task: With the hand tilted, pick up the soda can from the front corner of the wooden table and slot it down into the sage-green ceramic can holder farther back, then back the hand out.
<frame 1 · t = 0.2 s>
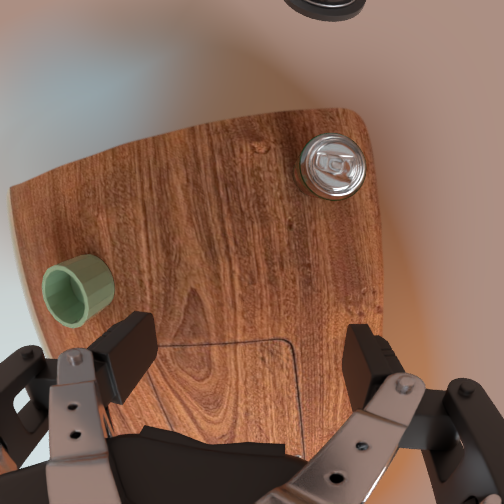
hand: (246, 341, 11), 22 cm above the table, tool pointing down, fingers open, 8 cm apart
can holder: (91, 282, 36), on the table
soda can: (315, 174, 31), on the table
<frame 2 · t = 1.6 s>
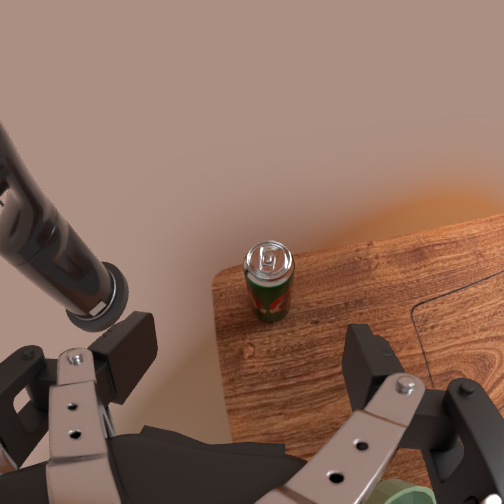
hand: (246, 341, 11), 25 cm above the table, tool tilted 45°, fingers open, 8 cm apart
soda can: (270, 306, 38), on the table
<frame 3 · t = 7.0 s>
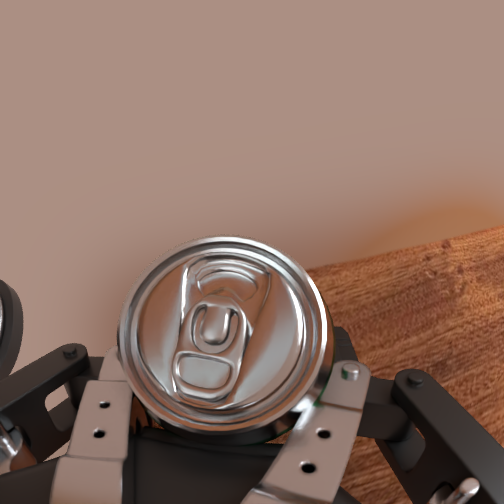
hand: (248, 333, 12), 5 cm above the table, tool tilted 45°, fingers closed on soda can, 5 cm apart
soda can: (253, 388, 16), on the table, touching gripper
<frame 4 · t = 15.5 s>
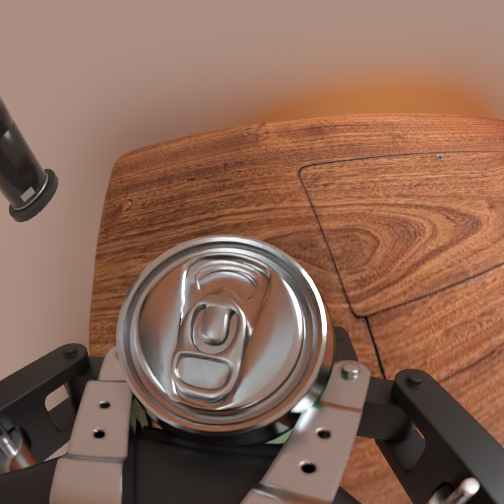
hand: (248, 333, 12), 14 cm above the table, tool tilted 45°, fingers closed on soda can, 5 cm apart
soda can: (253, 389, 16), point 8 cm above the table, touching gripper
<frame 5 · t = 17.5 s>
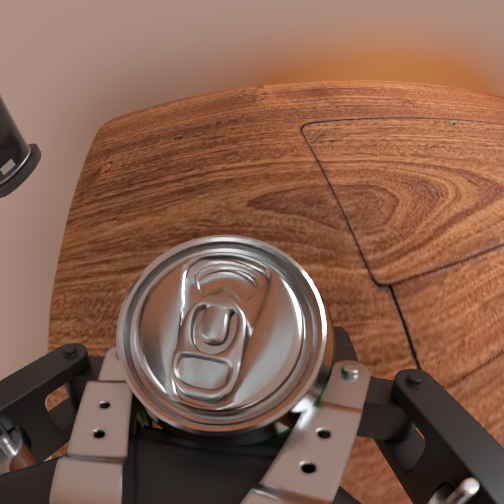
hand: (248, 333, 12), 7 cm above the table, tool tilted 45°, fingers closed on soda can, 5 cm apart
soda can: (253, 389, 16), point 2 cm above the table, touching gripper
when the fingers open (8 cm above the table, at t = 24.3 s): soda can drops 1 cm, resting on can holder.
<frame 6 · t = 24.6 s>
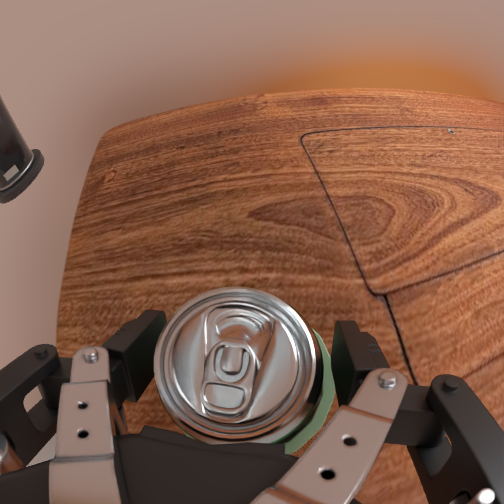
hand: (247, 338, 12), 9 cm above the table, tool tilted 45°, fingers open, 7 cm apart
can holder: (256, 393, 18), on the table
soda can: (256, 394, 18), point 1 cm above the table, touching can holder
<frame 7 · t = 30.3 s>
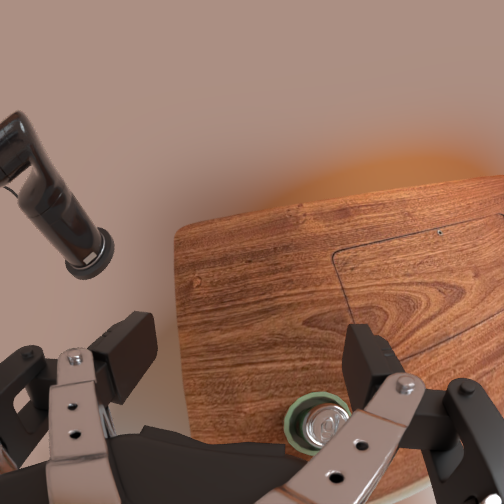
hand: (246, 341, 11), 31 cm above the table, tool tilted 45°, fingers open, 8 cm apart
can holder: (311, 423, 35), on the table
soda can: (312, 424, 34), point 1 cm above the table, touching can holder
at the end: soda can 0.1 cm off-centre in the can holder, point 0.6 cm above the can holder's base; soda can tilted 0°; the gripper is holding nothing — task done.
